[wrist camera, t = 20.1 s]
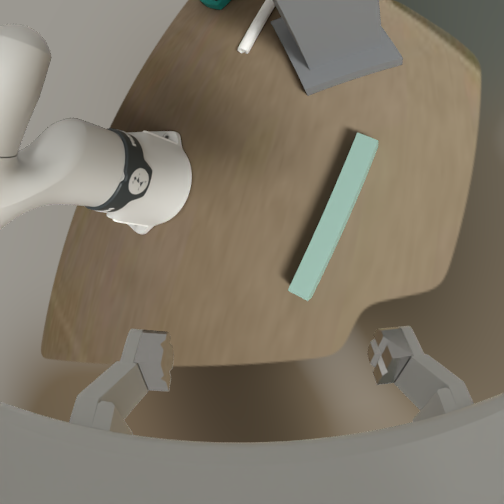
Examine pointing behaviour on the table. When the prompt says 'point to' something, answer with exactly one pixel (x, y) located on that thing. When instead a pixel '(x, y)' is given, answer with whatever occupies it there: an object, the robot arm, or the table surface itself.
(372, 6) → the stand
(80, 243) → the table surface
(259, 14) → the white rod
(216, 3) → the digital multimeter
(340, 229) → the bar
